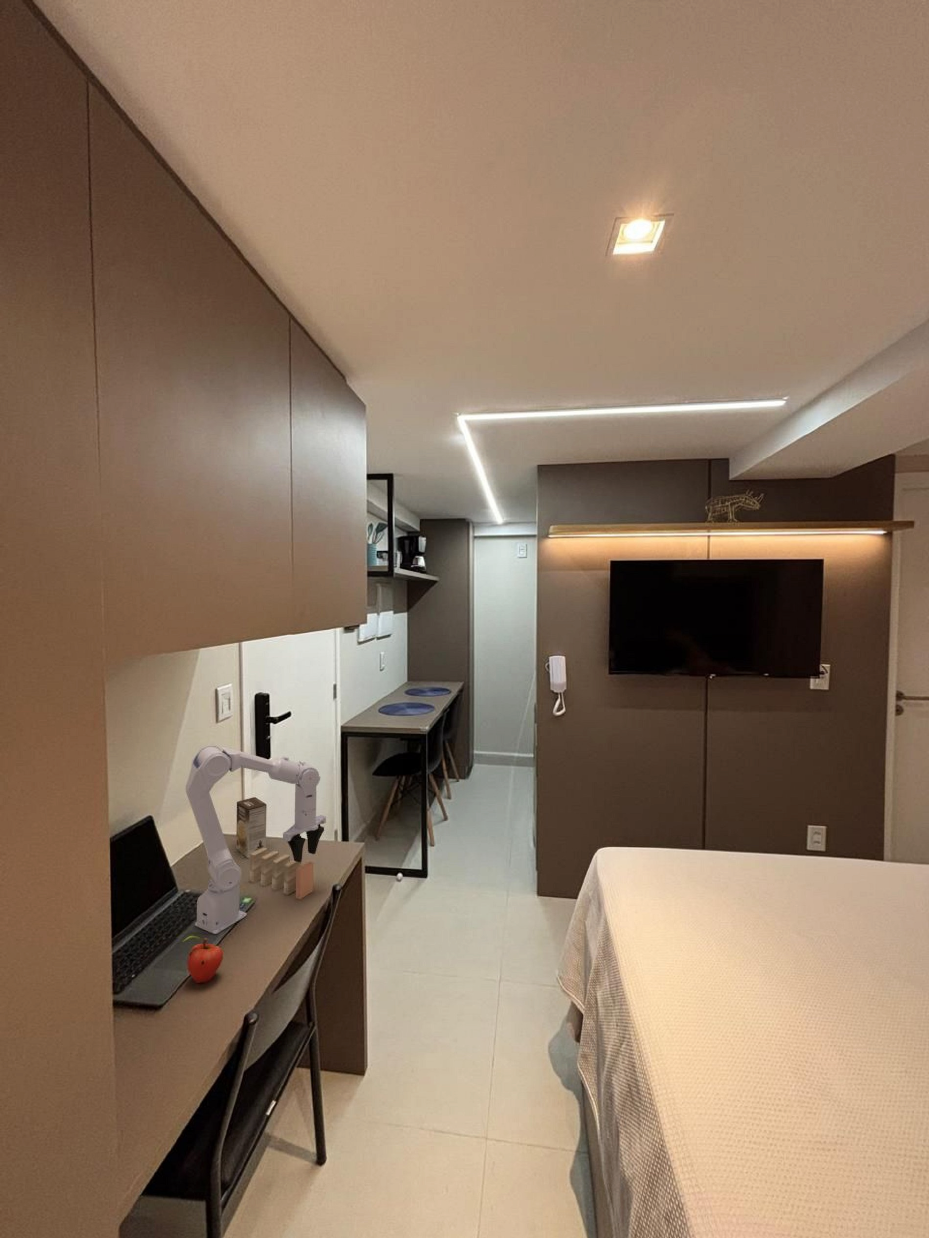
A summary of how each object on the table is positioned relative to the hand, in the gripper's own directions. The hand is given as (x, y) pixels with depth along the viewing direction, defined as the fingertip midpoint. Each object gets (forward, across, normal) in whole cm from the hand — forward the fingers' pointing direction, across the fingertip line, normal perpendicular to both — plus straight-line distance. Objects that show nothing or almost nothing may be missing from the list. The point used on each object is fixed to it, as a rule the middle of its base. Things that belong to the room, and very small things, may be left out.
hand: (304, 857), depth 149 cm
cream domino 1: (+10, 0, +18) cm, 21 cm away
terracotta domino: (+10, 0, 0) cm, 10 cm away
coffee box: (+11, +11, +34) cm, 37 cm away
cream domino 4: (+10, 0, +4) cm, 11 cm away
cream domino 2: (+10, 0, +14) cm, 17 cm away
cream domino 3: (+10, 0, +9) cm, 14 cm away
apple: (+11, -36, -6) cm, 38 cm away
